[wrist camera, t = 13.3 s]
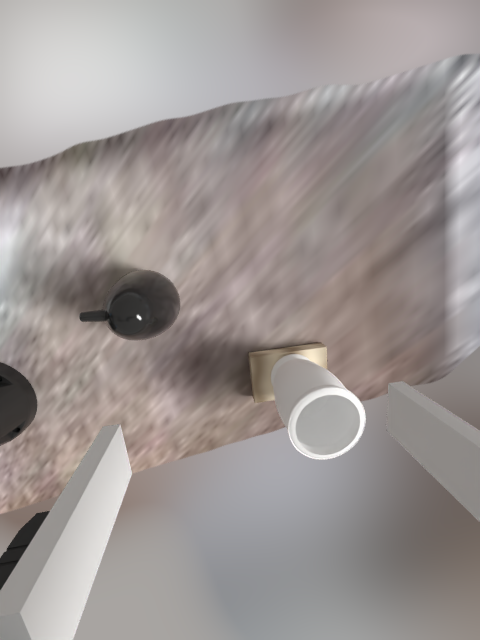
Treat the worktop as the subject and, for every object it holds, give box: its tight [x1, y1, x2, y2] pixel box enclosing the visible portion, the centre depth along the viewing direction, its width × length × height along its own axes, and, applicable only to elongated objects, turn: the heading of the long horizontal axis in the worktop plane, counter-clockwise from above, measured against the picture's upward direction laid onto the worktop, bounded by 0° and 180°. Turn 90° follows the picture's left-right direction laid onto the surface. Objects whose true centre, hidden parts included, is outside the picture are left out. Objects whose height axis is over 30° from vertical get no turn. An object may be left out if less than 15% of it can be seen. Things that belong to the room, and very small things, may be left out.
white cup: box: [271, 354, 366, 459], centre depth 41 cm, size 11×10×15 cm
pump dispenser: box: [79, 270, 180, 340], centre depth 37 cm, size 10×10×15 cm
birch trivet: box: [248, 343, 327, 403], centre depth 49 cm, size 14×9×2 cm, turn 96°
